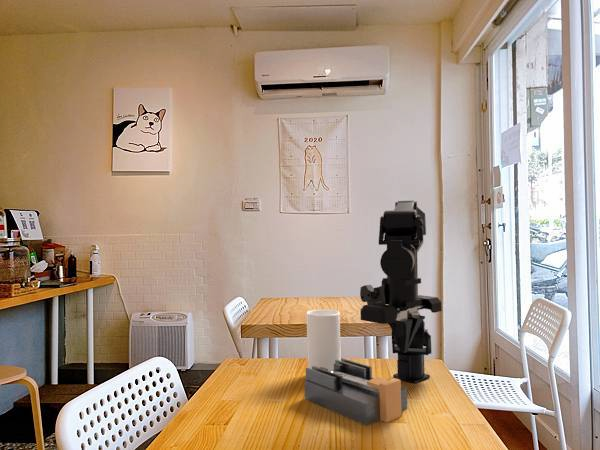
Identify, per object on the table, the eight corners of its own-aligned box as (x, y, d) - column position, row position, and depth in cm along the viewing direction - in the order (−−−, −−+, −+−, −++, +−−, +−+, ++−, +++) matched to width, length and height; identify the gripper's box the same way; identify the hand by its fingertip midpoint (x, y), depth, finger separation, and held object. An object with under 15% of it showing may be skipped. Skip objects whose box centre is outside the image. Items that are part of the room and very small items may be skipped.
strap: (324, 376, 99) (324, 372, 99) (334, 374, 101) (333, 369, 101) (374, 392, 88) (374, 387, 88) (384, 389, 90) (383, 384, 90)
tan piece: (381, 408, 91) (380, 373, 92) (401, 416, 87) (400, 380, 88) (366, 414, 89) (365, 378, 89) (386, 422, 85) (385, 385, 85)
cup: (339, 383, 107) (337, 315, 107) (305, 381, 109) (303, 315, 109) (342, 372, 115) (341, 309, 115) (311, 370, 117) (309, 309, 117)
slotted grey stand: (344, 385, 105) (343, 357, 105) (407, 408, 91) (406, 376, 91) (304, 398, 98) (304, 368, 98) (366, 425, 84) (365, 390, 84)
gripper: (398, 267, 101) (400, 337, 101) (339, 274, 90) (341, 352, 90) (442, 270, 93) (444, 346, 93) (382, 278, 81) (384, 365, 81)
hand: (403, 352), depth 89 cm, fingers closed
